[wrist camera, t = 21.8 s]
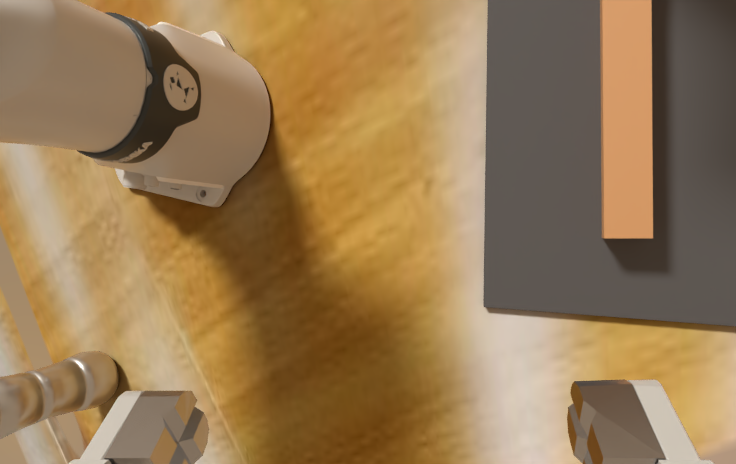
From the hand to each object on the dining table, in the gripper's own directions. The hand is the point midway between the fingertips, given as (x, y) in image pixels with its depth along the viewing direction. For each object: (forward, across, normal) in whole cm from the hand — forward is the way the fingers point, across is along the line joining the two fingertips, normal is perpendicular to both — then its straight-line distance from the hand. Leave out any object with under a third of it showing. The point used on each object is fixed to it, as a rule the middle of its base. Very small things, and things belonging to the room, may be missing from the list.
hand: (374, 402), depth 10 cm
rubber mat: (+30, -16, +7) cm, 35 cm away
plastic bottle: (+30, +40, +34) cm, 60 cm away
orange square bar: (+30, -16, +6) cm, 34 cm away
